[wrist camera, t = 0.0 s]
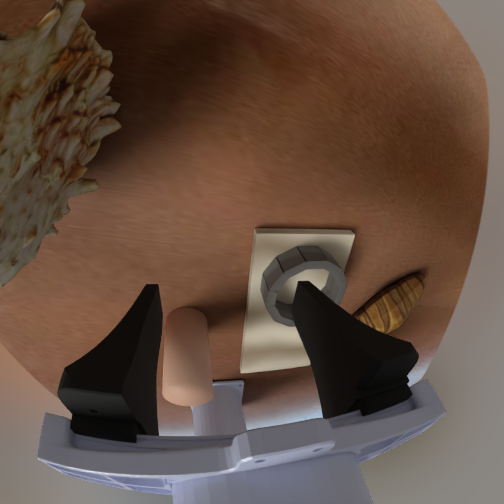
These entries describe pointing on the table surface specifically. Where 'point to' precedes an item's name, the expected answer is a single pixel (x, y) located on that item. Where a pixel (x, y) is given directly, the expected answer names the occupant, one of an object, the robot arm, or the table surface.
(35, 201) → the seashell
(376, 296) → the croissant
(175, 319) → the peg
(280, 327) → the holder board
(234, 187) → the table surface
